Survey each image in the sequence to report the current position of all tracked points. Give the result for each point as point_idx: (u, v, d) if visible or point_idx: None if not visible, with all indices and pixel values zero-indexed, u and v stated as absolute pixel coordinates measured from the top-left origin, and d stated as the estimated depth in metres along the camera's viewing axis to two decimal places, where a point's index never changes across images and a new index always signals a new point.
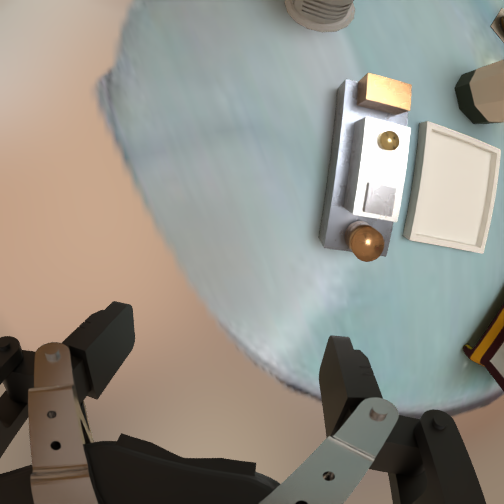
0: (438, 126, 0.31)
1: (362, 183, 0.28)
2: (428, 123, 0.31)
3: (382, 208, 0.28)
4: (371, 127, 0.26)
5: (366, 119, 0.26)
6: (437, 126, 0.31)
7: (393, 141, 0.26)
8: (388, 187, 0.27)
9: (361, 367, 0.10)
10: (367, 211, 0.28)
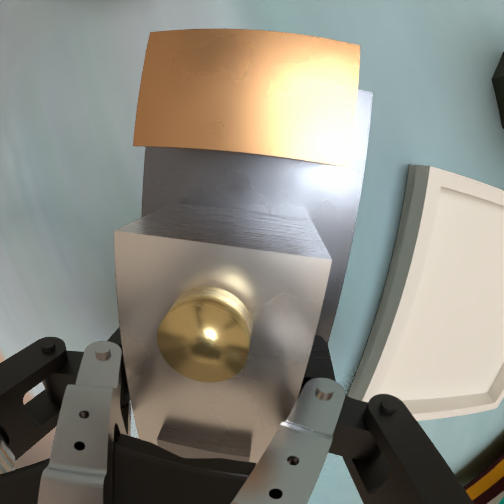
0: (458, 179, 0.12)
1: (148, 427, 0.09)
2: (432, 172, 0.12)
3: None
4: (139, 274, 0.07)
5: (117, 242, 0.07)
6: (455, 179, 0.12)
7: (215, 351, 0.06)
8: (220, 454, 0.08)
9: (319, 351, 0.10)
10: None
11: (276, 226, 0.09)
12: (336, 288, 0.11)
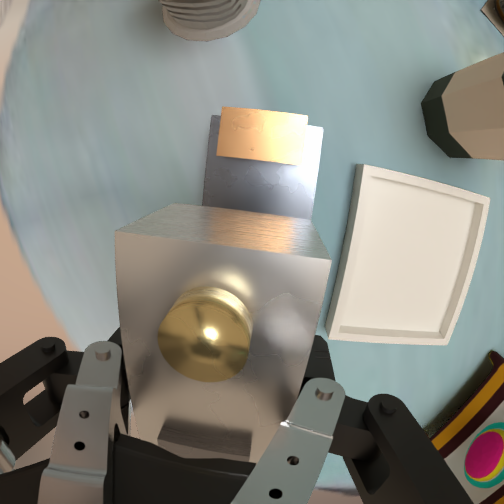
0: (383, 171, 0.23)
1: (148, 426, 0.09)
2: (365, 168, 0.23)
3: None
4: (140, 274, 0.07)
5: (117, 242, 0.07)
6: (382, 171, 0.23)
7: (215, 351, 0.06)
8: (220, 454, 0.08)
9: (319, 351, 0.10)
10: None
11: (276, 226, 0.09)
12: None
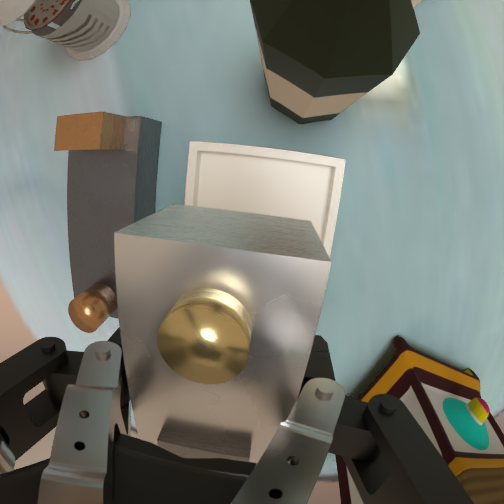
0: (208, 144, 0.26)
1: (148, 428, 0.09)
2: (191, 144, 0.26)
3: None
4: (139, 276, 0.07)
5: (117, 244, 0.07)
6: (207, 145, 0.26)
7: (215, 353, 0.06)
8: (220, 455, 0.08)
9: (319, 351, 0.10)
10: None
11: (276, 228, 0.09)
12: (132, 200, 0.25)
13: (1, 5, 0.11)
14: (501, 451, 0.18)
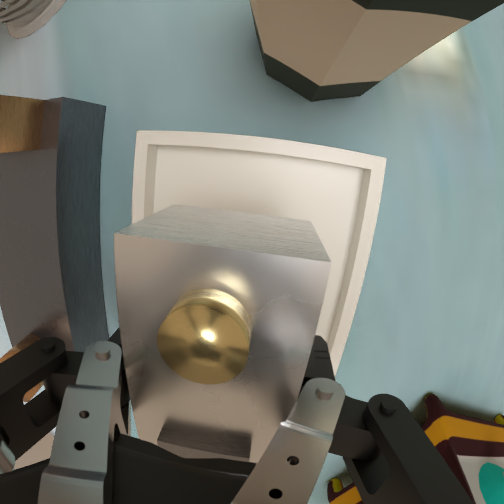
0: (165, 134, 0.15)
1: (148, 428, 0.09)
2: (139, 135, 0.16)
3: None
4: (139, 276, 0.07)
5: (117, 244, 0.07)
6: (162, 135, 0.15)
7: (215, 353, 0.06)
8: (220, 455, 0.08)
9: (319, 351, 0.10)
10: None
11: (276, 228, 0.09)
12: (54, 225, 0.15)
13: None
14: None
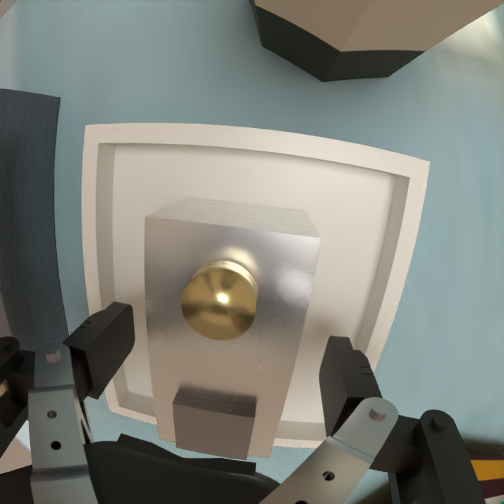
0: (119, 128, 0.11)
1: (163, 394, 0.10)
2: (88, 130, 0.11)
3: (219, 447, 0.10)
4: (165, 251, 0.09)
5: (147, 225, 0.08)
6: (116, 129, 0.11)
7: (229, 311, 0.08)
8: (228, 416, 0.10)
9: (361, 367, 0.10)
10: (182, 447, 0.11)
11: (276, 215, 0.11)
12: None
13: None
14: None
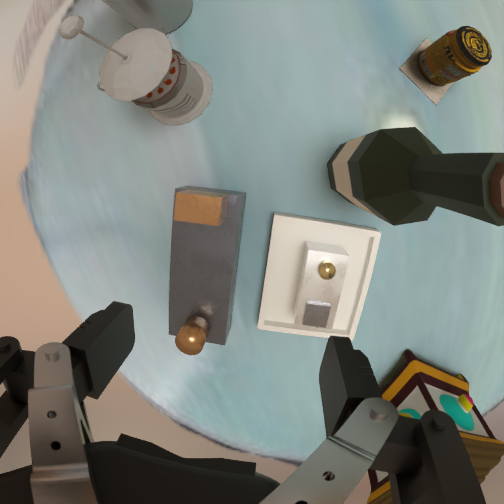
0: (288, 218, 0.37)
1: (302, 302, 0.37)
2: (275, 217, 0.37)
3: (317, 322, 0.37)
4: (312, 258, 0.35)
5: (309, 252, 0.35)
6: (287, 218, 0.37)
7: (330, 272, 0.34)
8: (323, 306, 0.36)
9: (361, 367, 0.10)
10: (305, 324, 0.37)
11: (336, 248, 0.37)
12: (232, 258, 0.37)
13: (113, 78, 0.23)
14: (484, 434, 0.29)
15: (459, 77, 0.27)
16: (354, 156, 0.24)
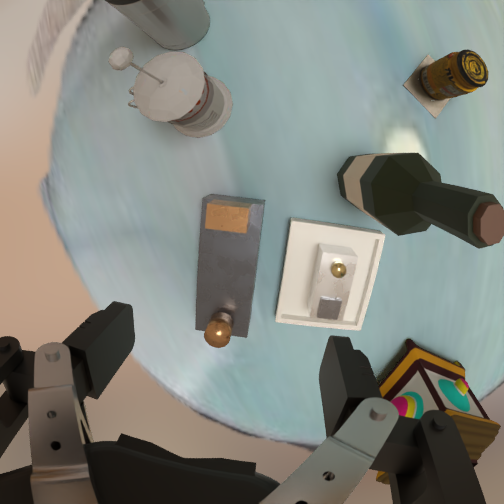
0: (304, 224, 0.42)
1: (317, 298, 0.42)
2: (292, 222, 0.42)
3: (330, 315, 0.42)
4: (326, 259, 0.40)
5: (323, 254, 0.40)
6: (302, 224, 0.42)
7: (341, 271, 0.39)
8: (335, 301, 0.41)
9: (361, 367, 0.10)
10: (319, 317, 0.42)
11: (345, 250, 0.42)
12: (255, 260, 0.41)
13: (150, 100, 0.27)
14: (479, 415, 0.34)
15: (457, 95, 0.31)
16: (366, 176, 0.28)
